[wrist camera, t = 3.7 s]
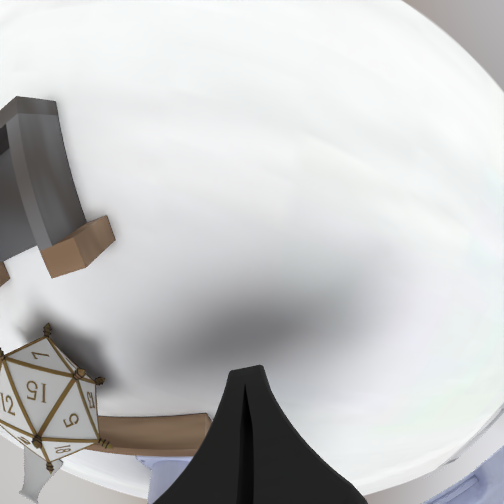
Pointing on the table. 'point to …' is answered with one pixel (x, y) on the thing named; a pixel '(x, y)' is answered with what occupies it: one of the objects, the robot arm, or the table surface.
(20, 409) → the game die
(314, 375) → the table surface
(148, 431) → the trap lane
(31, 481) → the flask
